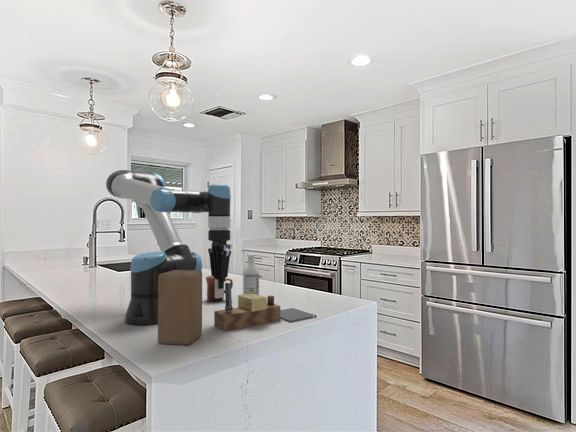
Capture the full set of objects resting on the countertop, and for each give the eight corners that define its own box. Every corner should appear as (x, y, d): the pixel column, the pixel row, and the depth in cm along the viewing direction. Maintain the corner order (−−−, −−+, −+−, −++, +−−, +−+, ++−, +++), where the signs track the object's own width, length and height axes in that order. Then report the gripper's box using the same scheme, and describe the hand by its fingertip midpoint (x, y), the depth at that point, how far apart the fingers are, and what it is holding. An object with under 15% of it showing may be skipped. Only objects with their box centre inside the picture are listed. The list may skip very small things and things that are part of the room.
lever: (227, 311, 121) (226, 283, 121) (224, 310, 123) (223, 283, 123) (233, 310, 122) (232, 282, 123) (229, 309, 124) (228, 282, 124)
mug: (202, 302, 158) (202, 278, 158) (208, 297, 167) (209, 275, 167) (230, 302, 157) (230, 278, 157) (234, 298, 166) (235, 275, 166)
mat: (290, 322, 128) (290, 320, 128) (267, 314, 139) (267, 312, 139) (316, 317, 135) (316, 315, 135) (292, 309, 146) (292, 307, 146)
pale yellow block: (251, 311, 122) (251, 299, 122) (238, 306, 129) (238, 295, 129) (266, 309, 126) (266, 297, 126) (252, 304, 133) (252, 293, 133)
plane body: (224, 331, 117) (224, 306, 117) (214, 326, 123) (214, 302, 123) (280, 320, 131) (280, 297, 131) (269, 315, 136) (269, 294, 136)
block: (156, 344, 105) (156, 274, 105) (172, 333, 115) (172, 269, 115) (189, 346, 104) (189, 274, 104) (203, 335, 113) (203, 270, 114)
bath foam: (261, 300, 162) (261, 254, 162) (246, 302, 159) (247, 255, 159) (254, 297, 168) (255, 253, 168) (240, 298, 165) (240, 254, 165)
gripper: (238, 229, 125) (238, 299, 125) (220, 228, 136) (220, 293, 135) (218, 229, 121) (217, 302, 120) (201, 229, 131) (201, 295, 131)
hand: (219, 297), depth 128 cm, fingers closed
